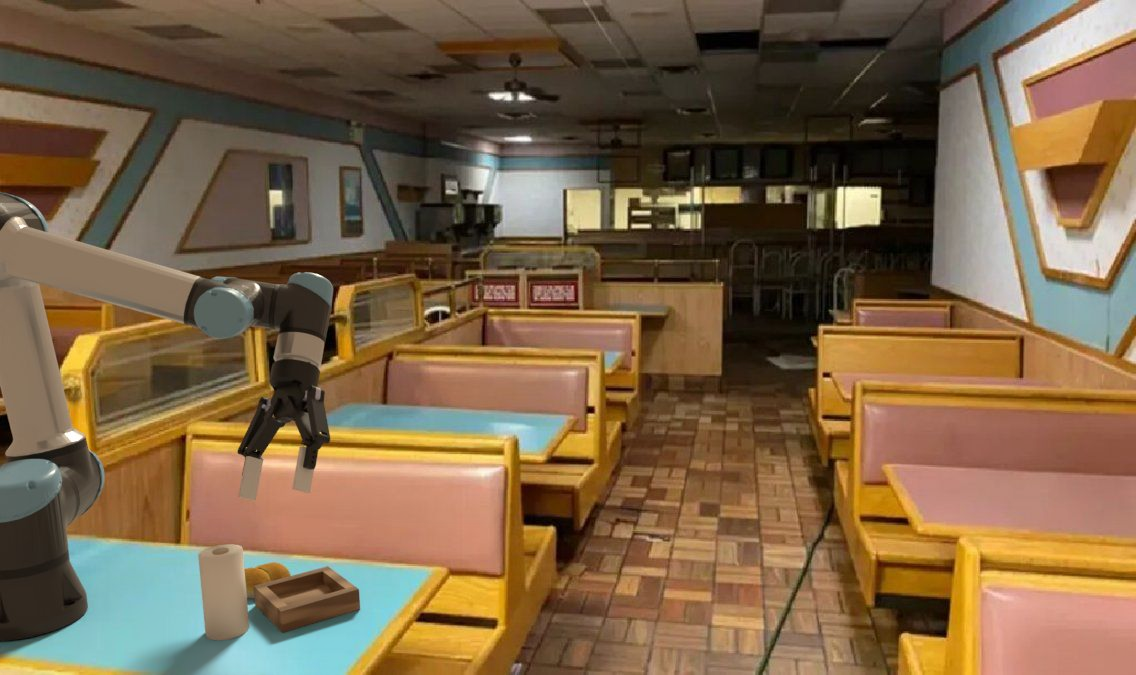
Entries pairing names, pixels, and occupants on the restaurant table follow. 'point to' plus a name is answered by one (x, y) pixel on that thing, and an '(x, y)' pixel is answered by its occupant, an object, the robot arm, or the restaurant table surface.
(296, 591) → the tray
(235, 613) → the paper roll
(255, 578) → the bread roll
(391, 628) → the restaurant table surface
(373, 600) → the restaurant table surface
